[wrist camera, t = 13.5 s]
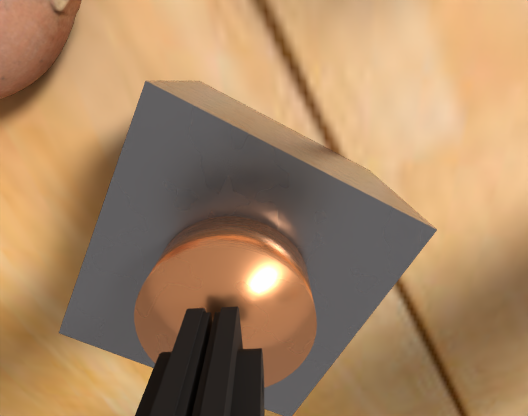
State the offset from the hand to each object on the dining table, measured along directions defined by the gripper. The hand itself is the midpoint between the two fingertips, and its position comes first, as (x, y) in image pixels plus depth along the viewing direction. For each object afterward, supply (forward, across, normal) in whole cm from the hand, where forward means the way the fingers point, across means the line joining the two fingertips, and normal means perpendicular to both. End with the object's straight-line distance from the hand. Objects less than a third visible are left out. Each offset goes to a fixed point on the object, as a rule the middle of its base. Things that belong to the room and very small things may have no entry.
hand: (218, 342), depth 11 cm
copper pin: (+11, 0, 0) cm, 11 cm away
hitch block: (+12, 0, 0) cm, 12 cm away
